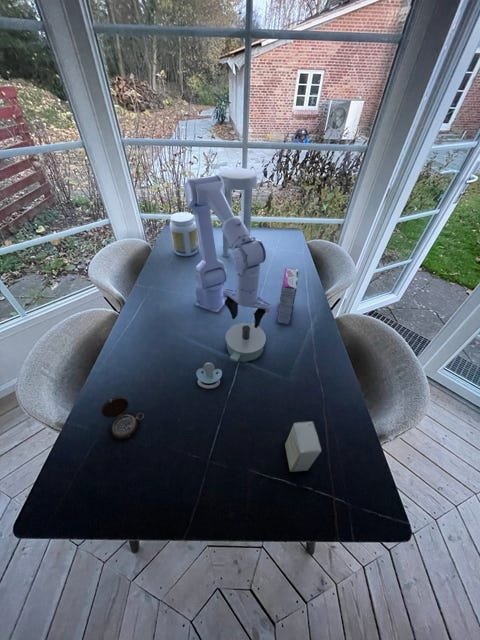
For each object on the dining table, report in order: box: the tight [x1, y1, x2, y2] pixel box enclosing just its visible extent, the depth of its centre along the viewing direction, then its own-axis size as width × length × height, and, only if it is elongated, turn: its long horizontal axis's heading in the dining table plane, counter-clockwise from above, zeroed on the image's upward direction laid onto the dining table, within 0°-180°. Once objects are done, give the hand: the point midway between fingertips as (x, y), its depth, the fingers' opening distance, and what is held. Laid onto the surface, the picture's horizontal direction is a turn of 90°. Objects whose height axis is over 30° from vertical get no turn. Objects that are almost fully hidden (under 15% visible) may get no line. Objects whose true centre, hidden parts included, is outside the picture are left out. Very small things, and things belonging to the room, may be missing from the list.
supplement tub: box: [169, 211, 200, 257], centre depth 124 cm, size 12×12×17 cm
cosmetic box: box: [284, 420, 322, 473], centre depth 58 cm, size 6×4×12 cm
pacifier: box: [196, 362, 223, 389], centre depth 74 cm, size 7×6×6 cm
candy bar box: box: [276, 267, 299, 325], centre depth 92 cm, size 11×5×16 cm, turn 168°
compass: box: [100, 396, 145, 440], centre depth 64 cm, size 8×8×7 cm
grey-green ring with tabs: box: [226, 321, 265, 363], centre depth 84 cm, size 12×17×4 cm
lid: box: [225, 322, 267, 354], centre depth 81 cm, size 13×13×5 cm
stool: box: [217, 167, 258, 257], centre depth 118 cm, size 16×16×35 cm
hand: (245, 321), depth 80 cm, fingers open, 7 cm apart
